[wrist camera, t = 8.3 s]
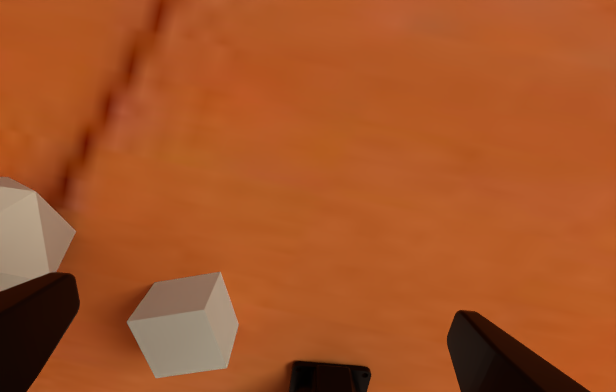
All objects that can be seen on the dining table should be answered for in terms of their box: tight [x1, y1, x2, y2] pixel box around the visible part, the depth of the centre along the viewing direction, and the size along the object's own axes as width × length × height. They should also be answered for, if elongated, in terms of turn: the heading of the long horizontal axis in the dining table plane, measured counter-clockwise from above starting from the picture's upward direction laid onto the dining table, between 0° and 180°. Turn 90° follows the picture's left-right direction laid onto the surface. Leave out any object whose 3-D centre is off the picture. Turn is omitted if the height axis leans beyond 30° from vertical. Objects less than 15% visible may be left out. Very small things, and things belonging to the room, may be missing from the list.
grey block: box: [127, 272, 239, 378], centre depth 22 cm, size 5×5×4 cm
